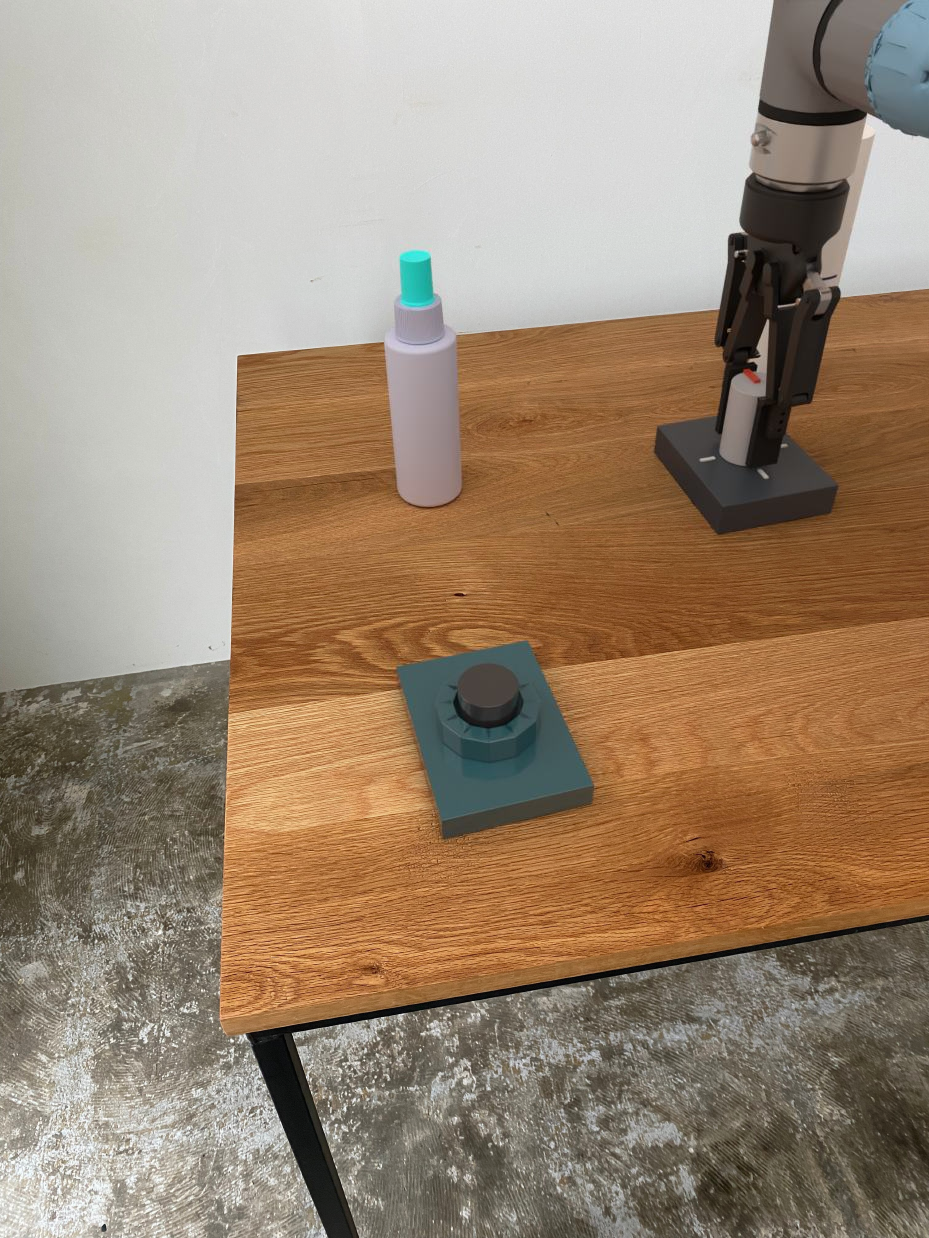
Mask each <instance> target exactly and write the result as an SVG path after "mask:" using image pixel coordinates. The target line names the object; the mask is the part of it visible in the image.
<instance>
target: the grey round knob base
mask: <svg viewBox="0 0 929 1238" xmlns="http://www.w3.org/2000/svg"><path fill="white" fill-rule="evenodd" d="M484 663H492V664H498V665H501V666H504V667H506V668H508V669H509V670H511V671H512V672H513V673H514V675H515V676H516V678H517V680H518V711H517V713H516V715H515V716H514V718H513V719H512V720H511V721H509V722H508V723H506V724H504V725H502V726H499V727H495V728H482V727H477V726H474V725H472V724H470V723H468V722H467V721H466V720H464V718H463V717H462V716H461V714H460V712H459V708H458V689H457V684H458V680H459V678H460V676H461V675H462V673H463V672H464V671H466V670H467V669H469V668H470V667H472V666H475V665H478V664H484ZM395 669H396V679H397V686H398V690H399V693H400V696H401V697H400V698H401V701H402V704H403V707H404V711H405V714H406V718H407V720H408V724H409V727H410V731H411V735H412V739H413V741H414V746H415V749H416V752H417V755H418V759H419V763H420V765H421V769H422V772H423V776H424V779H425V782H426V787H427V790H428V793H429V796H430V801H431V804H432V807H433V810H434V814H435V817H436V821H437V825H438V827H439V831H440V834H441V838H442V840H446V839H450V838H454V837H458V836H462V835H467V834H471V833H475V832H476V833H477V832H480V831H485V830H489V829H493V828H497V827H501V826H505V825H509V824H513V823H518V822H521V821H527V820H531V819H534V818H539V817H543V816H547V815H552V814H555V813H559V812H564V811H568V810H572V809H576V808H577V809H578V808H582V807H585V806H590V805H592V804H593V800H594V789H595V784H594V782H593V779H592V777H591V775H590V773H589V771H588V769H587V768H588V767H586V764H585V762H584V760H583V758H582V755H581V753H580V751H579V749H578V747H577V744H576V742H575V739H574V738H573V736H572V733H571V732H570V729H569V727H568V725H567V722H566V720H565V719H564V715H563V713H562V712H561V710H560V707H559V705H558V703H557V700H556V698H555V697H554V694H553V692H552V690H551V687H550V685H549V683H548V681H547V679H546V677H545V675H544V672H543V670H542V668H541V666H540V664H539V661H538V659H537V657H536V655H535V652H534V651H533V648H532V646H531V644H530V641H529V640H528V639H527V640H526V639H525V640H521V641H516V642H511V643H506V644H501V645H496V646H492V647H487V648H481V649H477V650H472V651H466V652H463V653H457V654H452V655H447V656H443V657H437V658H433V659H427V660H422V661H418V662H413V663H408V664H403V665H397V666H396V668H395Z"/></svg>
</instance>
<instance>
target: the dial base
mask: <svg viewBox="0 0 929 1238" xmlns="http://www.w3.org/2000/svg"><path fill="white" fill-rule="evenodd" d="M716 421H717V415H712V416H707V417H706V416H705V417H701V418H700V417H699V418H695V419H689V420H682V421H677V422H672V423H671V422H670V423H665V424H659V425H657V426H656V433H655V442H654V450H653V452H654V454H655V456H656V457H657V458H658V459H659V460H660V462H661V463H662V465H663V466H664V467H665V468H666V470H667V471H668V472H669V473H670V475H671V476H672V478H674V480H675V481H676V483H677V484H678V485H679V487H680V488H681V489H682V491H684V493H685V494H686V495H687V497H688V498H689V499H690V501H691V502H692V503H693V504H694V506H695V507H696V509H698V511H699V512H700V513H701V515H702V516H703V517H704V519H705V520H706V521H707V522H708V524H709V525H710V526H711V527H712V529H713V530H714V531H715V533H716V534H717V535H721V534H727V533H731V532H732V533H733V532H737V531H738V532H739V531H742V530H748V529H753V528H758V527H764V526H768V525H769V526H770V525H774V524H780V523H785V522H789V521H796V520H800V519H805V518H806V519H807V518H811V517H816V516H821V515H827V514H831V513H832V512H833V508H834V503H835V500H836V496H837V493H838V490H839V488H840V487H839V486H840V484H839V483H838V482H837V481H836V480H835V479H834V478H833V477H831V475H829V473H827V471H826V470H825V469H823V468H822V466H820V464H818V462H817V461H815V460H814V459H813V458H812V457H811V455H809V454H808V453H807V452H806V451H805V450H804V449H803V448H802V447H801V445H799V444H798V443H797V441H795V439H793V438H792V437H791V436H790V435H789V434H788V433H787V432H786V434H785V435H784V437H783V440H782V444H781V448H780V453H779V457H778V462H777V464H772V465H766V466H761V467H755V468H748V467H747V466H740V465H736V464H733V463H730V462H728V461H726V460H725V459H724V458H722V456H721V455H720V452H719V449H720V443H721V437H722V434H718V433H717V432H716V431H715V427H716Z"/></svg>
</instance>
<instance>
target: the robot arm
mask: <svg viewBox="0 0 929 1238" xmlns="http://www.w3.org/2000/svg"><path fill="white" fill-rule="evenodd" d="M771 8H772V9H771V16H770V21H769V29H768V35H767V41H766V49H765V54H764V55H765V57H764V62H763V69H762V74H761V75H762V76H761V83H760V89H759V98H758V99H759V100H758V105H757V114H756V120H755V125H754V131H753V133H752V134H751V135H750V144H751V149H750V153H749V154H750V155H749V161H748V167H749V169H750V170H751V173H750V174H749V175H748V176H747V177H746V179H745V181H744V186H743V193H742V199H741V200H742V201H741V206H740V210H739V211H740V212H739V219H738V220H739V221H738V222H739V226H740V228H741V229H742V230H743V231H741V232H739V231H738V232H732V233H730V234H728V237H727V264H726V269H725V275H724V282H723V287H722V293H721V298H720V305H719V310H718V316H717V321H716V327H715V331H714V338H713V339H714V345H715V347H716V348H722V354H721V355H722V361H723V362H724V363H725V365H724V371H723V377H722V382H721V391H720V397H719V398H720V399H719V404H718V409H717V410H718V411H717V415H716V416H717V421H716V427H715V431H716V432H717V433H718V434H722V432H723V426H724V420H725V415H726V409H727V403H728V398H729V392H730V386H731V381H732V379H733V378H734V377H735V376H736V375H738V374H740V373H743V371H744V369H750V370H751V371H752V372H757V367H758V365H757V364H756V363H755V362H749V359H754V358H759V357H760V356H761V355H758V354H760V353H759V351H758V350H757V349H756V348H757V346H758V343H759V340H760V338H761V335H762V332H763V330H764V327H765V325H766V322H767V319H768V320H769V334H768V354H767V374H766V394H765V396H764V397H758V398H757V401H758V402H757V407H756V412H755V417H754V422H753V427H752V432H751V437H750V442H749V447H748V452H747V457H746V462H745V465H746V466H747V467H748V468H755V467H761V466H766V465H772V464H777V462H778V457H779V453H780V448H781V444H782V440H783V437H784V435H785V434H786V433H787V429H788V425H789V421H790V416H791V413H792V408H794V407H801V406H805V405H810V404H812V403H813V400H814V395H815V390H816V386H817V381H818V377H819V373H820V369H821V363H822V359H823V355H824V350H825V346H826V342H827V337H828V333H829V328H830V323H831V319H832V317H833V314H834V312H835V310H836V309H837V307H838V304H839V302H840V300H841V296H842V291H841V288H840V287H839V286H832V287H827V286H826V285H825V283H824V282H823V280H822V278H821V277H820V274H821V270H822V248H823V246H824V245H825V243H826V242H827V241H828V240H829V239H831V238H832V237H833V236H835V235H836V234H837V233H838V231H839V230H840V228H841V224H842V219H843V215H844V211H845V207H846V202H847V198H848V194H849V190H850V185H849V183H848V181H847V180H846V179H847V178H848V177H850V176H851V175H852V174H853V173H854V171H855V167H856V163H857V158H858V154H859V149H860V145H861V140H862V136H863V131H864V127H865V124H866V121H867V117H868V115H869V116H872V117H874V118H876V119H878V120H880V121H882V123H884V124H885V125H888V126H889V127H890V129H892V130H895V131H897V130H899V131H900V132H901V133H902V134H904V135H907V136H912V137H921V138H925V139H928V140H929V0H773V1H772V7H771ZM794 303H796V304H795V305H793V306H786V307H779V308H778V306H781V305H788V304H794ZM729 329H730V330H729ZM728 330H729V331H728ZM779 388H780V389H779Z"/></svg>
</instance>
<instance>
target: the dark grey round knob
mask: <svg viewBox="0 0 929 1238" xmlns="http://www.w3.org/2000/svg"><path fill="white" fill-rule="evenodd" d="M457 689H458V708H459V712H460V714H461V716H462V717H463V718H464V720H466V721H467V722H468V723H470V724H472V725H474V726H477V727H482V728H495V727H499V726H502V725H504V724H506V723H508V722H509V721H511V720H512V719H513V718H514V716H515V715H516V713H517V711H518V680H517V678H516V676H515V675H514V673H513V672H512V671H511V670H509V669H508V668H506V667H504V666H501V665H498V664H492V663H484V664H478V665H475V666H472V667H470V668H469V669H467V670H466V671H464V672H463V673H462V675H461V676H460V678H459V680H458V684H457Z"/></svg>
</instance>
